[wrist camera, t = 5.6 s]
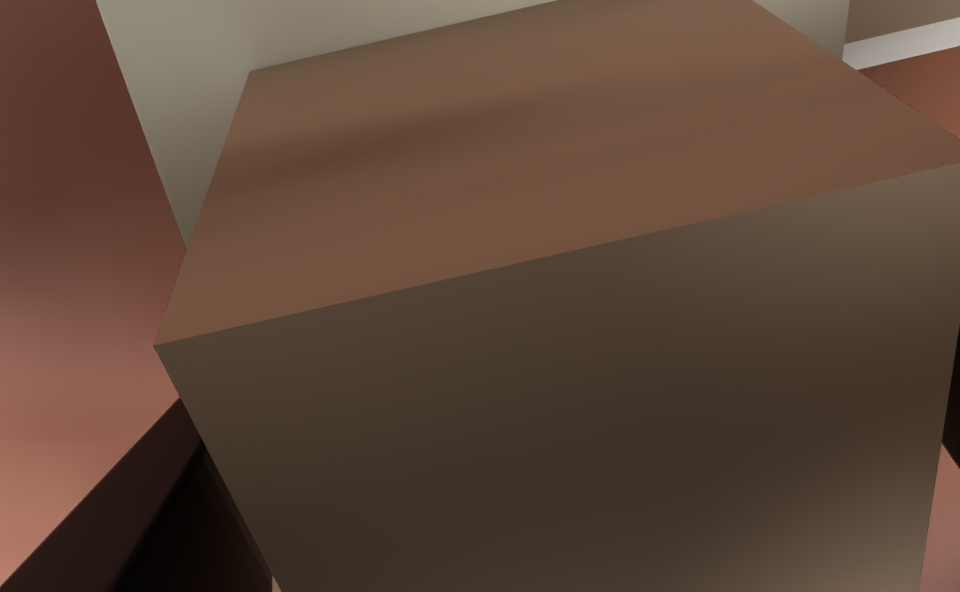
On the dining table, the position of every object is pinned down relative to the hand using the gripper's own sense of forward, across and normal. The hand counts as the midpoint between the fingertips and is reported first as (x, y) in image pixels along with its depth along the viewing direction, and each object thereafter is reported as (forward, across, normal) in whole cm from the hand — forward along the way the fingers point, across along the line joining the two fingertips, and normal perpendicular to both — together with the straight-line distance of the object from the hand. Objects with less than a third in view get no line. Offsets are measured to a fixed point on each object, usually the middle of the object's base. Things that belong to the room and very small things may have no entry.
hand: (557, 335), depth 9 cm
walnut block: (+2, 0, 0) cm, 2 cm away
